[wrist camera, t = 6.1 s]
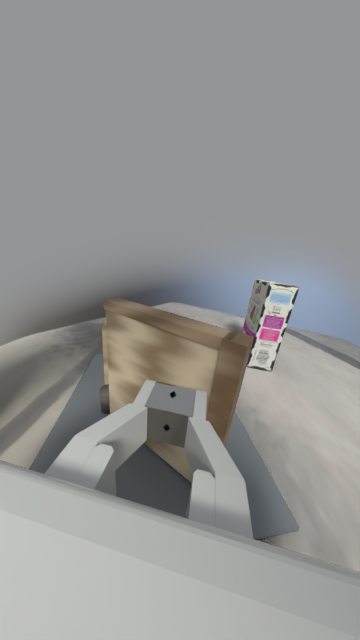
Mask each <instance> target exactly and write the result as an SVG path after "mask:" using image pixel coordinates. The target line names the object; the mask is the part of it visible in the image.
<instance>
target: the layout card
mask: <svg viewBox="0 0 360 640" xmlns="http://www.w3.org/2000/svg"><path fill="white" fill-rule="evenodd" d="M103 385H105V380H104V360H103V354H95V356H94V357H93V359H92V361H91V363H90V364H89V366H88V368H87V370H86V371H85V373H84V375H83V377H82V378H81V380H80V382H79V384H78V385H77V387H76V389H75V391H74V392H73V394H72V396H71V398H70V399H69V401H68V403H67V405H66V406H65V408H64V410H63V412H62V413H61V415H60V417H59V419H58V420H57V422H56V424H55V426H54V427H53V429H52V431H51V433H50V434H49V436H48V438H47V440H46V441H45V443H44V445H43V447H42V448H41V450H40V452H39V454H38V455H37V457H36V459H35V461H34V462H33V464H32V466H31V468H30V470H33V471H36V472H40V473H43V474H45V472H46V471H47V470H48V468H49V467H50V466H51V465H52V463H53V462H54V461H55V460H56V458H57V457H58V456H59V455H60V453H61V452H62V451H63V450H64V448H65V447H66V446H67V445H68V443H69V442H70V441H71V440H72V438H73V437H74V436H75V435H76V434H78V433H79V432H81V431H83V430H85V429H86V428H88V427H90V426H91V425H93V424H95V423H97V422H98V421H100V420H102V419H103V418H105V417H107V416H108V415H110V414H103V413H102V412H101V403H100V388H101V387H102V386H103ZM225 448H226V450H227V452H228V453H229V455H230V457H231V458H232V460H233V462H234V463H235V465H236V467H237V468H238V470H239V472H240V473H241V475H242V477H243V478H244V480H245V484H246V491H247V498H248V505H249V512H250V519H251V526H252V533H253V539H255V540H257V539H262V538H266V537H270V536H275V535H279V534H284V533H288V532H293V531H297V530H298V529H299V526H298V524H297V522H296V520H295V518H294V517H293V515H292V513H291V511H290V509H289V508H288V506H287V504H286V502H285V500H284V499H283V497H282V495H281V493H280V492H279V490H278V488H277V486H276V484H275V483H274V481H273V479H272V477H271V475H270V474H269V472H268V470H267V468H266V466H265V465H264V463H263V461H262V459H261V457H260V456H259V454H258V452H257V450H256V449H255V447H254V445H253V443H252V441H251V440H250V438H249V436H248V434H247V432H246V431H245V429H244V427H243V425H242V423H241V422H240V420H239V418H238V416H237V414H236V413H235V412H234V415H233V419H232V423H231V427H230V431H229V435H228V438H227V442H226V446H225ZM115 479H116V496H117V497H120V498H123V499H126V500H130V501H133V502H136V503H139V504H143V505H146V506H149V507H152V508H155V509H159V510H162V511H165V512H168V513H171V514H175V515H178V516H181V517H184V518H185V516H186V510H187V505H188V499H189V494H190V489H191V482H190V481H189V480H187V479H186V478H185V477H184V476H183V475H181V474H180V473H179V472H178V471H177V470H175V469H174V468H173V467H172V466H171V465H169V464H168V463H167V462H166V461H165V460H163V459H162V458H161V457H160V456H159V455H157V454H156V453H155V452H154V451H152V450H151V449H150V448H149V447H148V446H146V445H145V444H144V443H143V444H142V445H141V446H140V447H139V448H138V449H137V450H136V451H135V452H134V453H133V454H132V455H131V456H130V457H129V458H128V459H127V460H126V461H125V462H124V463H123V464H122V465H121V466H120V467H119V468H118V469H116V470H115Z"/></svg>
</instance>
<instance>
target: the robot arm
mask: <svg viewBox="0 0 360 640" xmlns="http://www.w3.org/2000/svg"><path fill="white" fill-rule="evenodd" d="M206 405H207V391H204V390H198V389H192V388H187V387H181V386H176V385H172V384H167V383H163V382H159V381H153V380H149V379H147V380H146V381H145V382H144V384H143V386H142V388H141V389H140V391H139V393H138V395H137V397H136V398H135V400H134V402H133V404H130V403H129V404H127V405H125V406H124V407H122V408H120V409H119V410H117V411H115V412H114V413H112V414H110V415H108V416H107V417H105V418H103V419H102V420H100V421H98V422H97V423H95V424H93V425H91V426H90V427H88V428H86V429H85V430H83V431H81V432H79V433H78V434H76V435H75V436H74V437H73V438H72V440H71V441H70V442H69V443H68V445H67V446H66V447H65V448H64V450H63V451H62V452H61V453H60V455H59V456H58V457H57V458H56V460H55V461H54V462H53V463H52V465H51V466H50V467H49V468H48V470H47V471H46V472H45V474H43V473H40V472H36V471H33V470H30V469H27V468H23V467H20V466H17V465H14V464H11V463H7V462H4V461H1V460H0V640H360V572H358V571H354V570H351V569H348V568H345V567H342V566H338V565H335V564H332V563H329V562H325V561H322V560H319V559H316V558H313V557H309V556H306V555H303V554H300V553H296V552H293V551H290V550H287V549H284V548H280V547H277V546H274V545H271V544H268V543H264V542H261V541H258V540H255V539H253V533H252V526H251V519H250V512H249V505H248V498H247V491H246V484H245V480H244V478H243V477H242V475H241V473H240V472H239V470H238V468H237V467H236V465H235V463H234V462H233V460H232V458H231V457H230V455H229V453H228V452H227V450H226V448H225V447H224V445H223V443H222V442H221V440H220V438H219V437H218V435H217V433H216V432H215V430H214V428H213V427H212V425H211V423H210V422H209V421H206ZM147 439H150V440H155V441H159V442H164V443H168V444H171V445H175V446H178V447H182V448H184V451H185V454H186V457H187V460H188V463H189V466H190V469H191V472H192V475H193V478H192V483H191V489H190V494H189V499H188V505H187V510H186V516H185V518H184V517H181V516H178V515H175V514H171V513H168V512H165V511H162V510H159V509H155V508H152V507H149V506H146V505H143V504H139V503H136V502H133V501H130V500H126V499H123V498H120V497H117V496H116V479H115V470H116V469H118V468H119V467H120V466H121V465H122V464H123V463H124V462H125V461H126V460H127V459H128V458H129V457H130V456H131V455H132V454H133V453H134V452H135V451H136V450H137V449H138V448H139V447H140V446H141V445H142V444H143V443H144V442H145V441H146V440H147Z"/></svg>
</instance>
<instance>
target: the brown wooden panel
mask: <svg viewBox="0 0 360 640" xmlns="http://www.w3.org/2000/svg"><path fill="white" fill-rule="evenodd" d="M103 304H104V309H106V328H107V353H108V377H109V402H110V414H112V413H114V412H115V411H117V410H119V409H120V408H122V407H124V406H125V405H127V404H129V403H130V404H133V402H134V400H135V398H136V397H137V395H138V393H139V391H140V389H141V388H142V386H143V384H144V382H145V381H146V380H147V379H149V380H153V381H159V382H163V383H167V384H172V385H176V386H181V387H187V388H192V389H198V390H204V391H207V405H206V421H209V422H210V423H211V425H212V427H213V428H214V430H215V432H216V433H217V435H218V437H219V438H220V440H221V442H222V443H223V445H224V447H225V446H226V442H227V438H228V435H229V431H230V427H231V423H232V419H233V415H234V412H235V408H236V404H237V400H238V396H239V392H240V389H241V385H242V381H243V377H244V373H245V369H246V366H247V362H248V358H249V354H250V350H251V346H252V343H253V339H254V336H250V335H247V334H243V333H240V332H236V331H233V330H228V329H224V328H221V327H217V326H214V325H210V324H207V323H203V322H200V321H197V320H193V319H190V318H186V317H183V316H179V315H176V314H172V313H169V312H165V311H162V310H159V309H155V308H152V307H148V306H145V305H141V304H138V303H134V302H131V301H127V300H124V299H120V298H114V299H107V300H103ZM144 444H145V445H146V446H148V447H149V448H150V449H151V450H152V451H154V452H155V453H156V454H157V455H159V456H160V457H161V458H162V459H163V460H165V461H166V462H167V463H168V464H169V465H171V466H172V467H173V468H174V469H175V470H177V471H178V472H179V473H180V474H181V475H183V476H184V477H185V478H186V479H187V480H189V481H190V482H191V483H192V478H193V475H192V472H191V469H190V466H189V463H188V460H187V457H186V454H185V451H184V448H182V447H178V446H175V445H171V444H168V443H164V442H159V441H155V440H150V439H147V440H146V441H145V442H144Z"/></svg>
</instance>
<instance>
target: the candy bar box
mask: <svg viewBox="0 0 360 640" xmlns="http://www.w3.org/2000/svg"><path fill="white" fill-rule="evenodd" d="M298 290H299V287H296V286H292V285H288V284H284V283H279V282H273V281H267V280H257V279H256V280H255V282H254V286H253V291H252V294H251V298H250V302H249V306H248V310H247V315H246V319H245V323H244V327H243V331H242V333H243V334H247V335H250V336H254V339H253V343H252V346H251V350H250V354H249V358H248V362H247V366H248V367H252V368H257V369H262V370H267V371H272V369H273V366H274V362H275V359H276V356H277V353H278V350H279V347H280V344H281V341H282V338H283V335H284V332H285V329H286V326H287V323H288V320H289V317H290V314H291V311H292V308H293V305H294V302H295V299H296V296H297V293H298Z"/></svg>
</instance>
